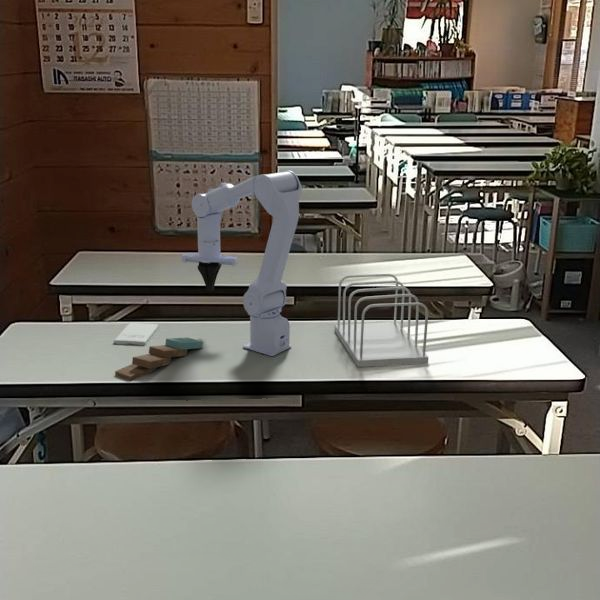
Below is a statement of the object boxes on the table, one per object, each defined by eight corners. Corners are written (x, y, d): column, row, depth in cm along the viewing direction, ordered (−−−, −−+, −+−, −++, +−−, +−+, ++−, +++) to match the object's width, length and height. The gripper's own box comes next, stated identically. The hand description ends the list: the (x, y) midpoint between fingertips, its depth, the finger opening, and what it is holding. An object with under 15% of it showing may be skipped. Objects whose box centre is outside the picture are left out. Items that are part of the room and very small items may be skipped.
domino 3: (172, 344, 180) (149, 346, 174) (187, 349, 178) (165, 351, 171) (171, 351, 181) (148, 353, 174) (186, 355, 178) (164, 357, 171)
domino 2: (153, 353, 175) (132, 357, 167) (171, 357, 173) (151, 361, 165) (152, 359, 175) (132, 363, 168) (170, 364, 173) (150, 368, 166)
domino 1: (141, 360, 173) (115, 371, 166) (156, 365, 170) (130, 376, 164) (141, 366, 173) (115, 377, 167) (156, 371, 170) (130, 383, 164)
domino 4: (187, 337, 185) (166, 338, 178) (203, 341, 182) (181, 342, 176) (186, 343, 185) (165, 345, 178) (202, 348, 183) (180, 349, 176)
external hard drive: (159, 329, 196) (145, 347, 184) (129, 328, 197) (113, 345, 185) (158, 324, 195) (145, 341, 184) (128, 322, 196) (113, 339, 184)
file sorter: (428, 364, 175) (433, 302, 170) (357, 369, 172) (360, 306, 167) (396, 327, 199) (400, 272, 194) (333, 331, 196) (335, 274, 191)
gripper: (176, 241, 187) (178, 292, 191) (231, 245, 184) (232, 296, 188) (186, 235, 193) (188, 284, 197) (239, 238, 190) (240, 288, 195)
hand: (210, 290), depth 193 cm, fingers closed
